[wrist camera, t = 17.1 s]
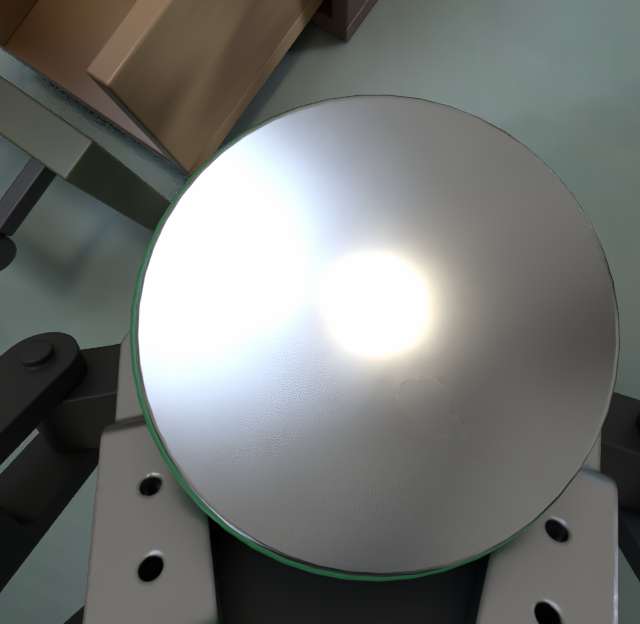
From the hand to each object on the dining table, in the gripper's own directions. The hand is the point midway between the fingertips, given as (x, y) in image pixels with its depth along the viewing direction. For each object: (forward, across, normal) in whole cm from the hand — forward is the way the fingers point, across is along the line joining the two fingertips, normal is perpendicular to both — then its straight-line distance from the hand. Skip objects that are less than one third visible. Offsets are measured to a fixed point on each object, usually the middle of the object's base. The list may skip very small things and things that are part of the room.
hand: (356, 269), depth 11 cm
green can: (+3, 0, +6) cm, 7 cm away
